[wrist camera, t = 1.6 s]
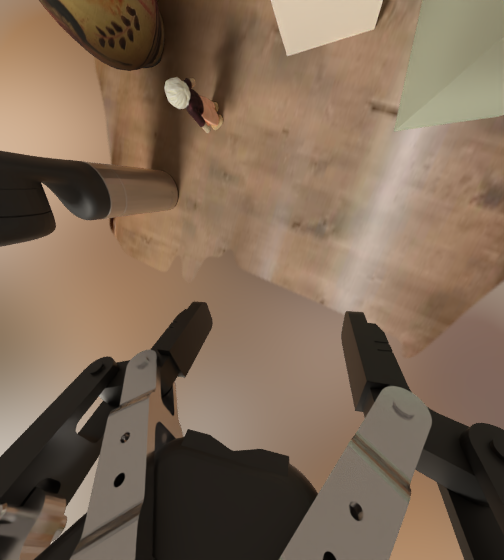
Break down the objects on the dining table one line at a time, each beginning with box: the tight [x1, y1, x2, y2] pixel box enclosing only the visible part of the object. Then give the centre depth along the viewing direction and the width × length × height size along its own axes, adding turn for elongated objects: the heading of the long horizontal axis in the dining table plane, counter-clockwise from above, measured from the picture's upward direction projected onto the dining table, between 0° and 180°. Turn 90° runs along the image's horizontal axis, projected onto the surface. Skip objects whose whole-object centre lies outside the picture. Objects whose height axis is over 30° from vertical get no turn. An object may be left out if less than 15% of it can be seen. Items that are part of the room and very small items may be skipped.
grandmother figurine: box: [164, 77, 223, 133], centre depth 31 cm, size 8×4×13 cm, turn 31°
